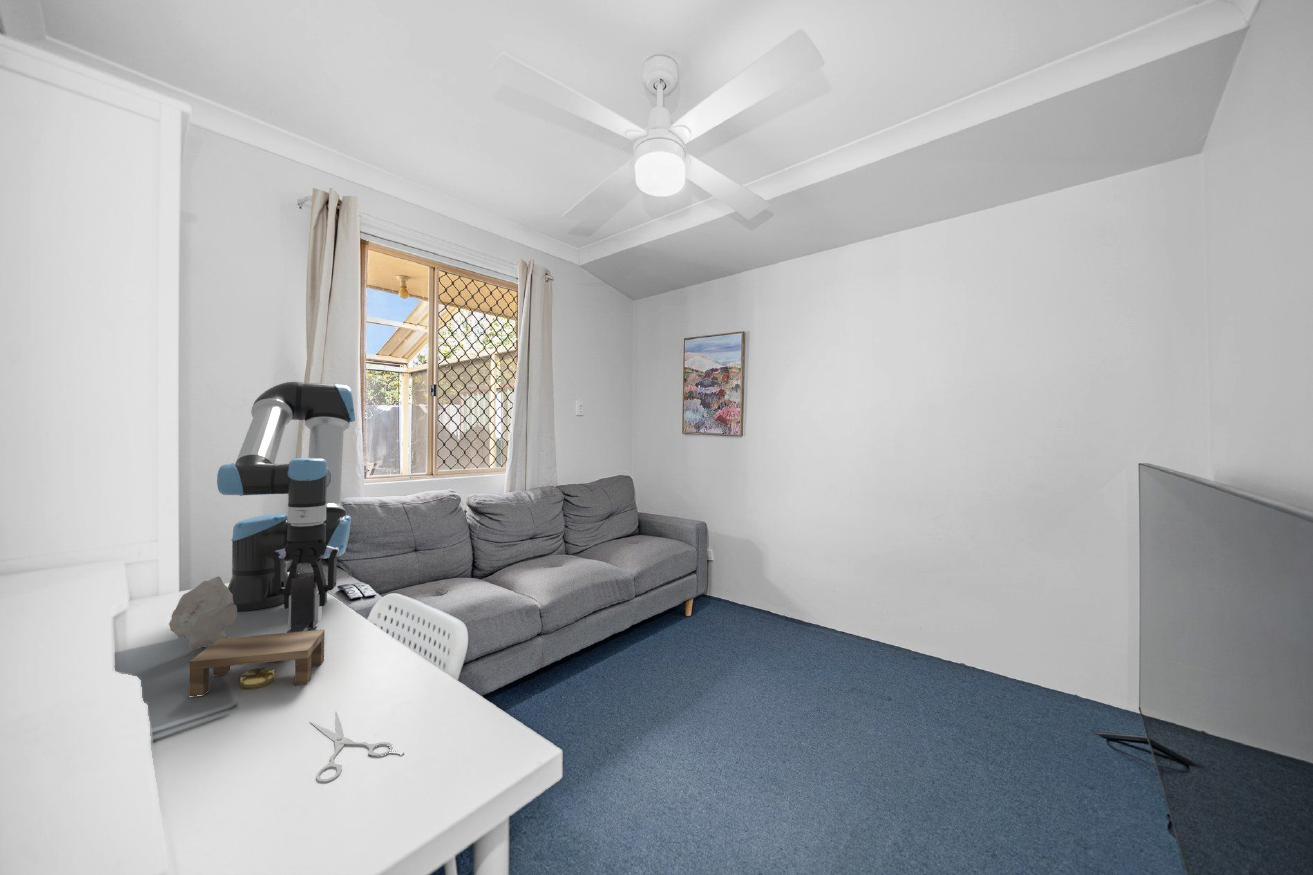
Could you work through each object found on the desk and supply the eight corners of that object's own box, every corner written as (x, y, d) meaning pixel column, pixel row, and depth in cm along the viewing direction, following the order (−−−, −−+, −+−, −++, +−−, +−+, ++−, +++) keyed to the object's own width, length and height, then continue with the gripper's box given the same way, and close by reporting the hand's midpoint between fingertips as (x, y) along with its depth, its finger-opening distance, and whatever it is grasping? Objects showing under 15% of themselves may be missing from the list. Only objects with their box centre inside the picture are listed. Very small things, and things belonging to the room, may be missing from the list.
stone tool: (168, 658, 103) (169, 586, 103) (169, 652, 106) (169, 581, 105) (237, 643, 110) (238, 576, 110) (236, 638, 113) (237, 572, 113)
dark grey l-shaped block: (297, 622, 120) (298, 573, 120) (319, 620, 122) (320, 572, 121) (262, 659, 102) (263, 600, 101) (288, 656, 103) (289, 599, 103)
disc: (246, 679, 96) (246, 669, 96) (277, 675, 98) (278, 665, 98) (235, 692, 91) (235, 681, 91) (268, 688, 93) (268, 677, 93)
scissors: (323, 789, 67) (284, 727, 80) (323, 794, 68) (283, 731, 81) (404, 752, 76) (356, 701, 89) (404, 757, 76) (356, 705, 89)
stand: (218, 671, 98) (218, 638, 98) (324, 660, 104) (324, 629, 104) (189, 697, 89) (189, 661, 89) (307, 684, 94) (307, 650, 94)
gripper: (255, 527, 112) (254, 630, 113) (345, 524, 118) (343, 622, 118) (269, 521, 119) (268, 618, 120) (353, 519, 125) (351, 611, 125)
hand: (305, 620), depth 119 cm, fingers closed on dark grey l-shaped block, 4 cm apart
